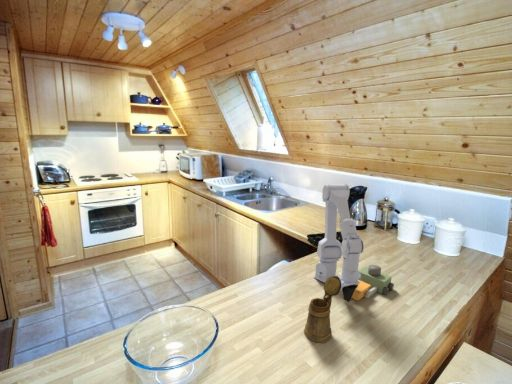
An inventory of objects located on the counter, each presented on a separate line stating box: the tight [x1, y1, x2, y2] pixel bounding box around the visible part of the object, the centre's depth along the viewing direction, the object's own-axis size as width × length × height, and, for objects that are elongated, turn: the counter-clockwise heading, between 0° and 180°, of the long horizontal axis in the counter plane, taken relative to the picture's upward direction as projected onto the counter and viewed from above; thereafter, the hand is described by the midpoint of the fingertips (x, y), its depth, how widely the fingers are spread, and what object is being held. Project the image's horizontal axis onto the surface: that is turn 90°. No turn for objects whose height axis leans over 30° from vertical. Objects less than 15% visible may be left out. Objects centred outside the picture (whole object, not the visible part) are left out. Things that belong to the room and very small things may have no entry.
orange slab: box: [351, 280, 371, 301], centre depth 119 cm, size 8×6×4 cm
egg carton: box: [306, 230, 343, 247], centre depth 177 cm, size 18×30×4 cm, turn 119°
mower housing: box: [358, 264, 395, 299], centre depth 124 cm, size 16×14×8 cm
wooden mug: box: [303, 275, 342, 344], centre depth 96 cm, size 9×14×18 cm, turn 130°
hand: (347, 300), depth 113 cm, fingers closed
